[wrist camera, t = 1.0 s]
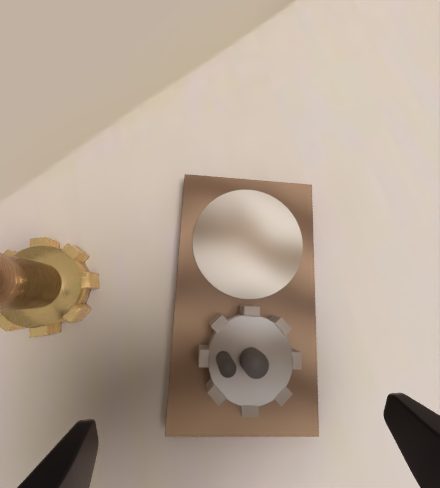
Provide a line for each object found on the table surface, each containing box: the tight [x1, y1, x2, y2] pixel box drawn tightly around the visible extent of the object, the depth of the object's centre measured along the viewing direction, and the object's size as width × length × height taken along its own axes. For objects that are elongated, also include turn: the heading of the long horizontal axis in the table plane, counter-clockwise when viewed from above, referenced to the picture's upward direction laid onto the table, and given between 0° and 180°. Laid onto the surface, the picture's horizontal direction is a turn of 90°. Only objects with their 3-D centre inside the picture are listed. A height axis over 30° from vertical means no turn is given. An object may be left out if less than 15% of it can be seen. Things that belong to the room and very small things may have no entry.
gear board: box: [165, 174, 319, 437], centre depth 19 cm, size 20×11×6 cm, turn 176°
